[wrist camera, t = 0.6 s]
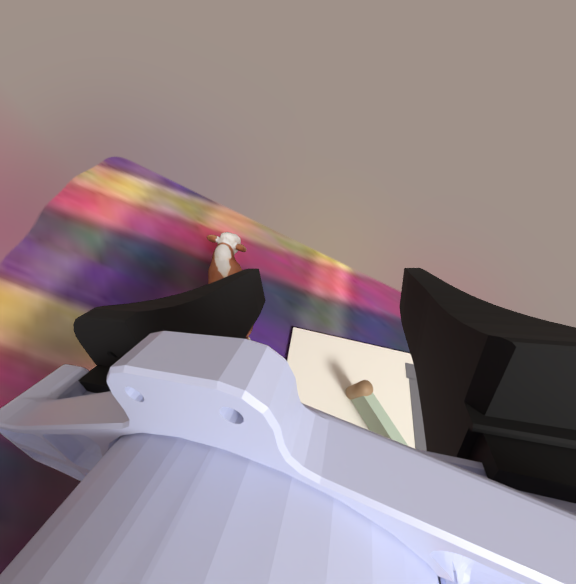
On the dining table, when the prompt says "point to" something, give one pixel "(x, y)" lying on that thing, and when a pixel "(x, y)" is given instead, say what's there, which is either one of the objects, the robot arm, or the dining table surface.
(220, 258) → the bull figurine
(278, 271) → the dining table surface
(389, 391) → the board
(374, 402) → the hinged fence panel
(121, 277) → the dining table surface
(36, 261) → the dining table surface
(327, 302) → the dining table surface
